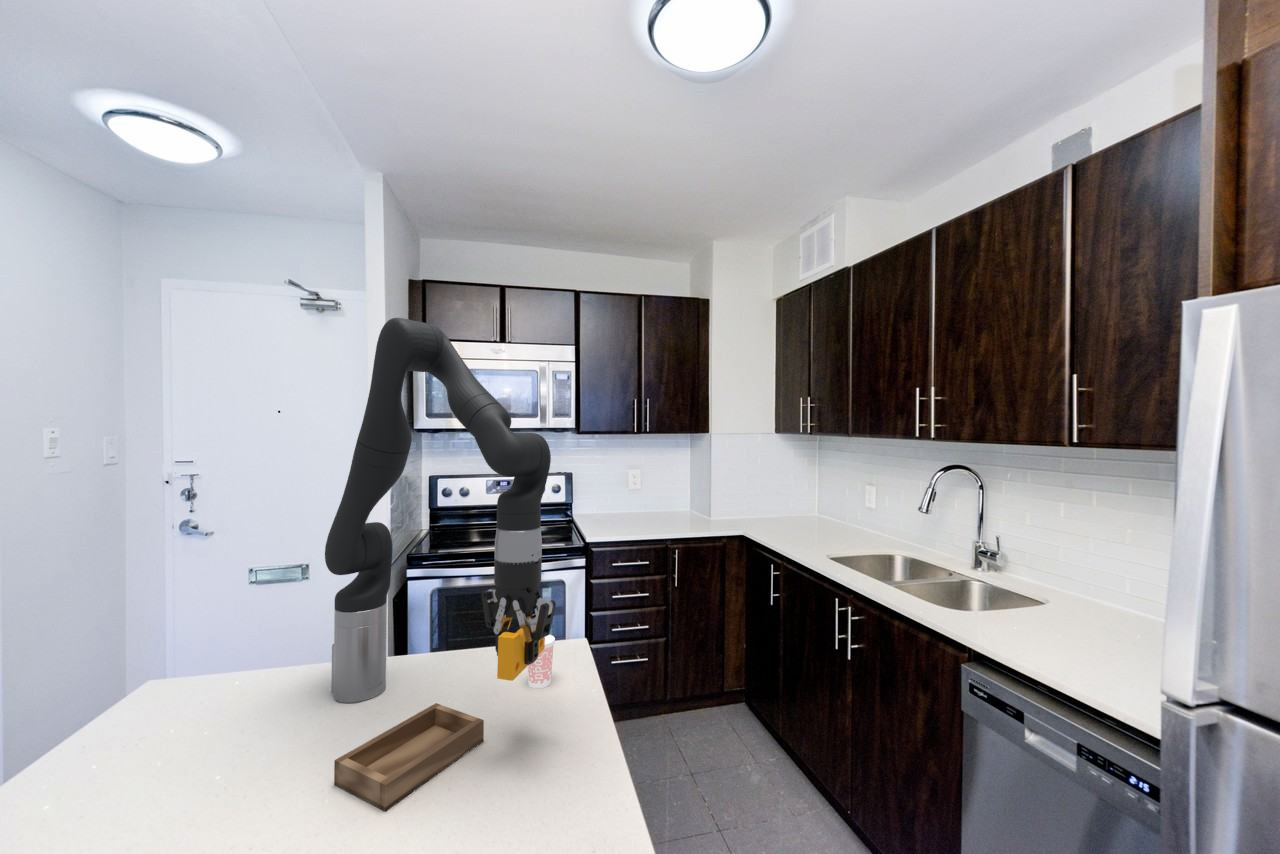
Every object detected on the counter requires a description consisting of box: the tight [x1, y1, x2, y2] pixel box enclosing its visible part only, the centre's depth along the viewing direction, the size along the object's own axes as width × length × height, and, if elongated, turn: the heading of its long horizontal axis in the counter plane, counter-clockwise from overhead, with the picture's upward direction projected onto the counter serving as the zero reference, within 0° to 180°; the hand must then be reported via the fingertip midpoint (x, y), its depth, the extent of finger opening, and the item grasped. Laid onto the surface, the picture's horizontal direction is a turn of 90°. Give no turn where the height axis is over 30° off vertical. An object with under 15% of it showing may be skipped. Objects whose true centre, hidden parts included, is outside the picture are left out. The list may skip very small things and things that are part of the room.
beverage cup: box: [526, 634, 556, 689], centre depth 108 cm, size 6×6×14 cm
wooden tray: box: [333, 702, 485, 812], centre depth 82 cm, size 11×18×4 cm, turn 152°
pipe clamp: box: [496, 614, 545, 682], centre depth 86 cm, size 12×4×6 cm, turn 167°
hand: (516, 658), depth 85 cm, fingers closed on pipe clamp, 5 cm apart
